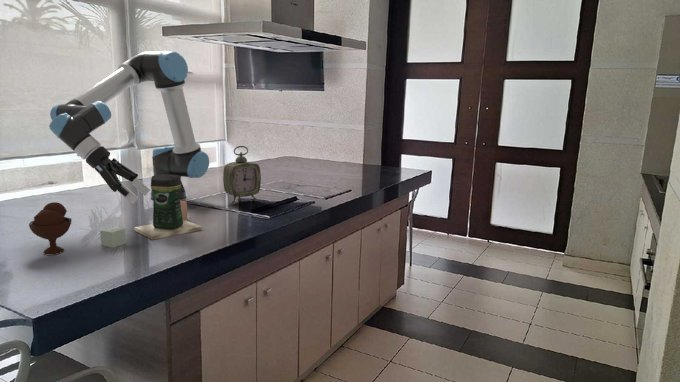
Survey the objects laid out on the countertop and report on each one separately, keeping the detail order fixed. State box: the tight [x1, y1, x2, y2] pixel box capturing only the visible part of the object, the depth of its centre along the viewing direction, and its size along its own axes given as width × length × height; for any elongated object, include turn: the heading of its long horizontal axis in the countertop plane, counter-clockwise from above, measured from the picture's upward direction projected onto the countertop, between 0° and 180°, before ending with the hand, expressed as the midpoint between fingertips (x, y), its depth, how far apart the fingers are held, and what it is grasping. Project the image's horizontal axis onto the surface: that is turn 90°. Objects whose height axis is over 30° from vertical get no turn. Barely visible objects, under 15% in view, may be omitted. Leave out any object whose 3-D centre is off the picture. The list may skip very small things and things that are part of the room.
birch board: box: [133, 219, 203, 241], centre depth 171 cm, size 18×14×1 cm
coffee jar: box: [150, 174, 183, 229], centre depth 170 cm, size 10×8×19 cm
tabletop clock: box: [222, 145, 262, 206], centre depth 214 cm, size 14×9×25 cm, turn 131°
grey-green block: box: [99, 226, 127, 248], centre depth 154 cm, size 5×5×5 cm
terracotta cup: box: [180, 199, 189, 221], centre depth 185 cm, size 7×7×7 cm
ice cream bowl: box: [28, 201, 72, 255], centre depth 145 cm, size 11×11×15 cm
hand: (142, 197), depth 168 cm, fingers open, 13 cm apart
